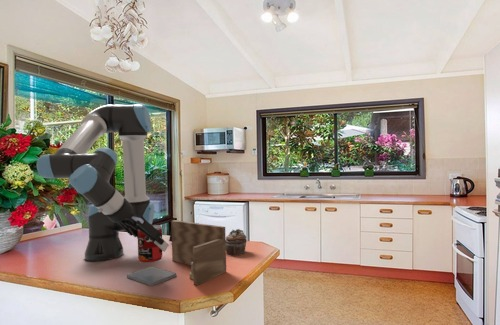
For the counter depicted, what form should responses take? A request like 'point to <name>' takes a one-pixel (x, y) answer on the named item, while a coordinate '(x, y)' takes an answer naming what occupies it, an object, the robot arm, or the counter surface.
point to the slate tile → (151, 276)
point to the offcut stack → (191, 271)
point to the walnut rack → (199, 248)
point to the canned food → (148, 247)
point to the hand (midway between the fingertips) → (158, 246)
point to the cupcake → (236, 242)
